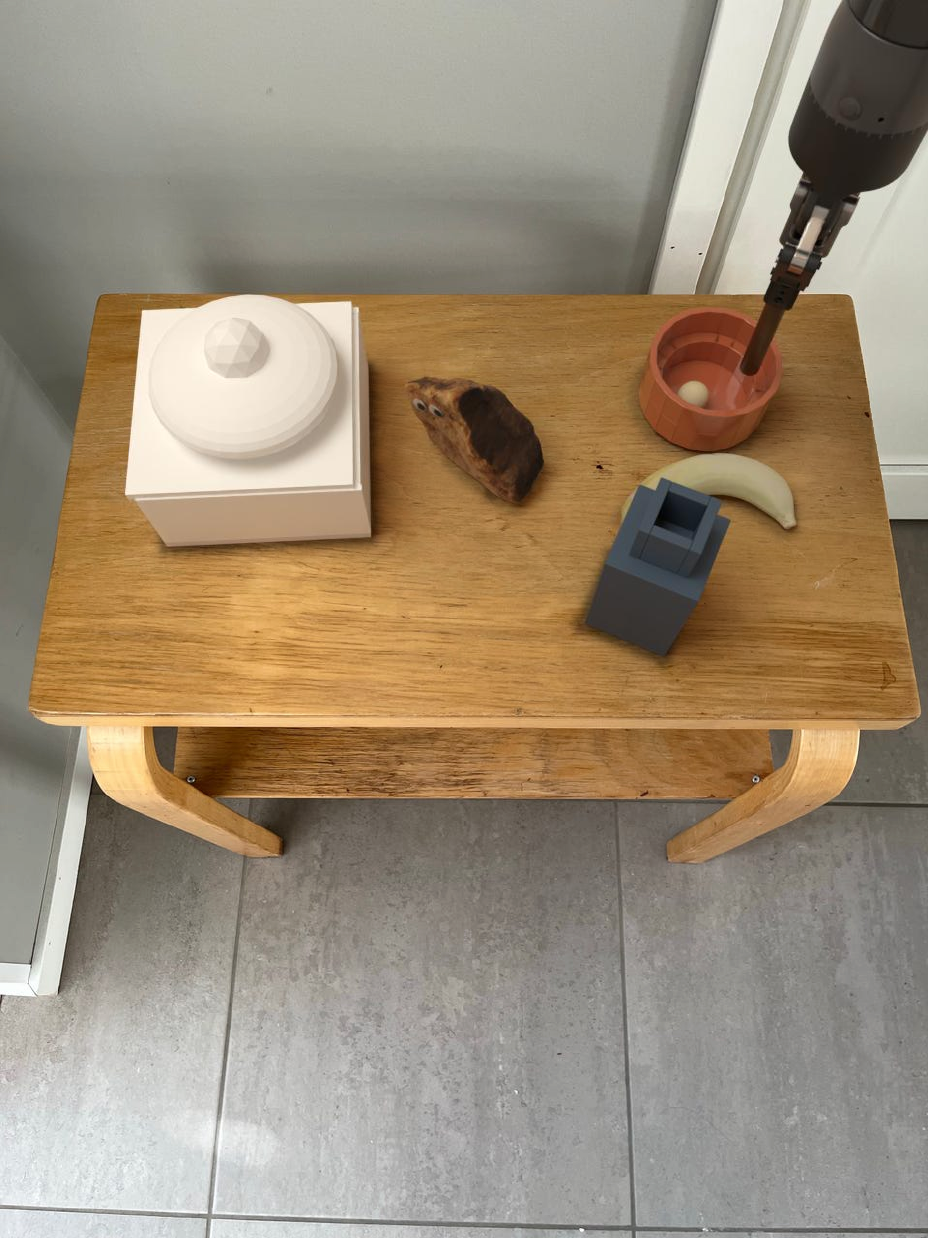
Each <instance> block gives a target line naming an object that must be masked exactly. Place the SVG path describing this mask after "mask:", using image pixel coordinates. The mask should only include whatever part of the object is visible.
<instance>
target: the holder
mask: <svg viewBox="0 0 928 1238" xmlns="http://www.w3.org/2000/svg"><path fill="white" fill-rule="evenodd" d="M637 487H638V489H637V491H636V493H635V495H634V498H633V500H632V502H631V505H630V507H629V509H628V511H627V514H626V516H625V518H624V520H623V523H622V525H620V527H619V529H618V532H617V534H616V537H615V538H614V541H613V543H612V546H611V548H610V550H609V553H608V555H607V557H606V559H605V562H604V564H603V567H602V570H601V572H600V575H599V579H598V581H597V585H596V587H595V591H594V593H593V596H592V599H591V602H590V605H589V607H588V610H587V613H586V617H585V619H584V623H583V624H584V625H587V626H588V627H591V628H593V629H596V630H599V631H601V632H603V633H604V634H605V633H606V634H608V635H610V636H613V637H615V638H618V639H620V640H623V641H625V642H627V643H630V644H631V645H634V646H637V647H639V648H642V649H643V650H646V651H649V652H651V653H652V654H656V655H658V656H661V657H665V656H666V654H667V653H668V651H669V650H670V648H671V646H672V645H673V643H674V642H675V640H676V639H677V637H678V636H679V634H680V632H681V631H682V629H683V628H684V626H685V624H686V623H687V622H688V620H689V618H690V617H691V615H692V613H693V612H694V610H695V609H696V607H697V605H698V604H699V602H700V600H701V598H702V595H703V592H704V590H705V587H706V585H707V583H708V580H709V577H710V575H711V572H712V569H713V567H714V565H715V562H716V560H717V557H718V555H719V551H720V549H721V547H722V544H723V542H724V539H725V537H726V534H727V531H728V529H729V526H730V525H731V518H728V517H725V516H722V515H719V511H720V509H721V506H722V504H723V500H722V499H719V498H717V497H715V496H712V495H706V494H704V493H701V492H698V491H696V490H693V489H691V488H688V487H685V486H683V485H680V484H678V483H675V482H672V481H670V480H667V479H665V478H662V477H661V479H660V481H659V483H658V486H657V488H656V490H653V489H651V488H648V487H645V486H643V485H640V484H638V485H637Z"/></svg>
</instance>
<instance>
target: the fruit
mask: <svg viewBox="0 0 928 1238" xmlns="http://www.w3.org/2000/svg"><path fill="white" fill-rule="evenodd" d="M661 477H662V478H665V479H667V480H670V481H672V482H675V483H678V484H680V485H683V486H685V487H688V488H691V489H693V490H696V491H698V492H701V493H704V494H706V495H709V496H716V495H717V496H720V495H721V496H729V497H733V498H737V499H740V500H743V501H745V502H747V503H750V504H751V505H753V506H755V507H756V508H758V509H759V510H760V511H762V512H764V513H765V514H767V515H768V516H770V517H771V518H773V519H774V520H775V521H777V522H778V523H779V524H780V525H781V526H782V527H783V529H785V530H789V529H791V528H793V527H795V526H796V525H797V520H796V518H795V505H794V503H795V501H794V495H793V492H792V489H791V488H790V486H789V483H787V481H786V480H785V479H784V477H783V476H782V475H781V474H779V472H777V471H776V470H774V469H773V468H772V467H770V466H768V465H767V464H765V463H763V462H761V461H759V460H756V459H754V458H751V457H748V456H745V455H740V454H734V453H726V452H722V453H721V452H715V453H704V454H697V455H694V456H690V457H687V458H684V459H680V460H678V461H675V462H672V463H669V464H667V465H665V466H663V467H661V468H660V469H657V470H656V471H654V472H653V473H651V474H650V475H649V476H647V477H646V478H645V479H643V480H642V481H641V482H640V483H639V485H643V486H645V487H648V488H651V489H653V490H656V488H657V486H658V483H659V481H660V479H661ZM637 489H638V486H637V487H635V489H634V490H633V491H632V492H631V493H630V494H629V496H628V497H627V498H626V500H625V502H624V503H623V505H622V506H621V510H620V524H621V525H622V523H623V520H624V518H625V516H626V514H627V511H628V509H629V507H630V505H631V502H632V500H633V498H634V495H635V493H636V491H637ZM621 525H620V526H621Z"/></svg>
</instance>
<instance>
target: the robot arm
mask: <svg viewBox="0 0 928 1238" xmlns="http://www.w3.org/2000/svg"><path fill="white" fill-rule="evenodd" d="M800 97H801V98H800V100H799V102H798V105H797V108H796V111H795V114H794V116H793V118H792V121H791V124H790V127H789V130H788V136H787V142H788V150H789V153H790V155H791V158H792V159H793V161H794V163H795V164H796V166H797V167H798V168H799V170H800V171H801V172H802V174H801V177H800V178H799V181H798V183H797V185H796V188H795V189H794V190H795V191H794V193H793V194H792V197H791V200H790V203H789V209H790V212H789V215H788V217H787V220H786V222H785V224H784V226H783V229H782V230H781V231H782V232H781V233H780V236H779V239H778V241H779V243H780V245H781V246H782V248H780V250H779V252H778V255H777V256H776V258H775V261H774V263H775V266H772V268H771V271H770V273H769V275H770V278H769V284H768V285H767V288H766V290H765V293H764V295H763V298H762V301H763V303H764V304H765V303H766V304H768V305H771V306H774V307H777V308H779V309H782V310H785V311H790V310H792V309H793V307H794V305H795V303H796V300H797V298H798V297H799V294H800V292H805V290H806V289H807V288H809V286H810V284H811V283H812V280H813V278H814V277H815V275H816V273H817V271H820V269H821V267H822V264H823V262H822V259H825V258H827V257H828V256H829V255H830V252H831V250H832V249H833V246H834V245H835V243H836V240H837V239H838V236H839V234H840V232H841V230H842V228H843V227H846V226H847V225H849V223H850V221H851V219H852V217H853V215H854V213H855V210H856V208H857V206H858V204H859V202H860V199H861V197H860V195H861V193H867V192H873V191H876V190H880V189H883V188H885V187H887V186H889V185H891V184H892V183H894V182H896V181H897V180H898V179H899V178H900V177H901V176H902V175H903V174H904V173H905V172H906V171H907V169H908V167H909V166H910V164H911V162H912V161H913V159H914V157H915V155H916V153H917V151H918V149H919V148H920V146H921V144H922V142H923V140H924V138H925V137H926V135H927V133H928V0H841V1H840V3H839V5H838V6H837V8H836V10H835V11H834V14H833V16H832V18H831V20H830V22H829V24H828V26H827V29H826V31H825V33H824V36H823V40H822V42H821V44H820V47H819V50H818V52H817V55H816V58H815V60H814V63H813V66H812V68H811V71H810V74H809V76H808V78H807V82H806V84H805V87H804V90H803V93H802V95H801V96H800Z"/></svg>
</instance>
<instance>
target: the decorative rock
mask: <svg viewBox="0 0 928 1238" xmlns="http://www.w3.org/2000/svg"><path fill="white" fill-rule="evenodd" d="M404 390H405V392H406V396H407V399H408V401H409V403H410V405H411V409H412V412H413V413H414V415H415V416H416V417H417V418H418V420H419V421H420V422H421V423H422V425H423V427H424V428H425V430H426V433H427V436H428V438H429V440H430V442H431V443H432V444H433V445H434V446H435V447H437V448H438V449H439V450H441V451H442V452H443V453H444V454H445V456H446V457H448V458H449V459H450V460H451V461H453V462H454V463H455V464H456V465H457V466H458V467H459V468H461V469H462V470H463V471H464V472H465V473H467V474H468V475H469V476H471V477H473V478H474V479H475V480H477V481H478V482H479V483H480V484H481V485H482V486H483V487H485V488H486V489H488V490H489V492H491V494H492V495H494V496H496V497H498V498H499V499H501V500H503V501H506V502H510V503H512V504H515V505H518V504H520V503H521V502H522V501H523V500H524V499H525V498H526V497H527V495H528V494H529V493H530V492H531V491H532V490H533V487H534V484H535V482H536V481H537V479H538V477H539V475H540V473H541V472H542V470H543V468H544V465H545V459H544V453H543V449H542V443H541V442H540V441H541V440H540V438H539V436H537V434H536V433H535V426H534V425H533V423H532V421H531V419H529V418H527V417H526V416H525V415H524V414H523V413H522V412H521V411H520V410H519V409H518V408H516V407H515V406H514V404H513V403H512V402H511V401H510V399H508V397H507V396H506V394H505V393H504V392H503V391H502V390H500V389H499V388H497V387H495V386H493V385H491V384H490V385H488V384H483V383H482V384H481V383H478V382H476V381H473V379H472V380H471V379H466V378H461V377H454V378H453V379H452V378H451V379H448V378H447V379H446V378H439V377H434V376H433V377H431V376H425V375H424V376H422V377H421V378H418V379H414V380H410V381H408V382H406V383H405V387H404Z"/></svg>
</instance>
